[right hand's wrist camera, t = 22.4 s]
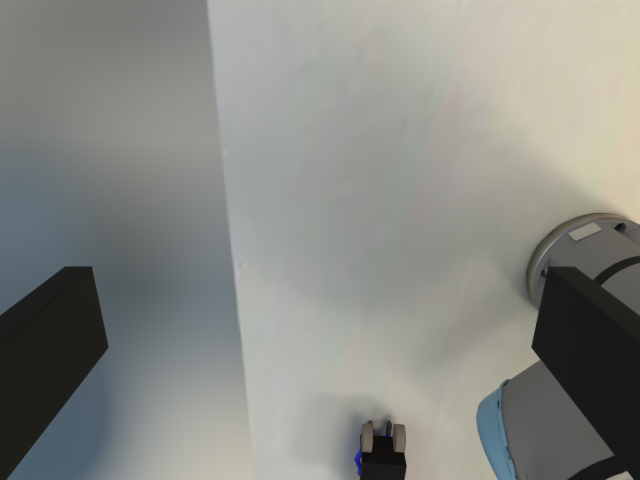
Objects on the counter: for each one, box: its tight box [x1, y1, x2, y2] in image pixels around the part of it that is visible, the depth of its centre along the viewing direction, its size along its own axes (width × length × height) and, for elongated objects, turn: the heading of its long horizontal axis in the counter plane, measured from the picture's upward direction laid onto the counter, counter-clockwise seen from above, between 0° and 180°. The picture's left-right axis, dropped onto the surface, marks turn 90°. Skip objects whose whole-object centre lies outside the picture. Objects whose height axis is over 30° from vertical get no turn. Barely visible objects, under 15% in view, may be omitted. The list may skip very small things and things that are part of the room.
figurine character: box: [354, 420, 407, 480], centre depth 62 cm, size 7×8×15 cm
